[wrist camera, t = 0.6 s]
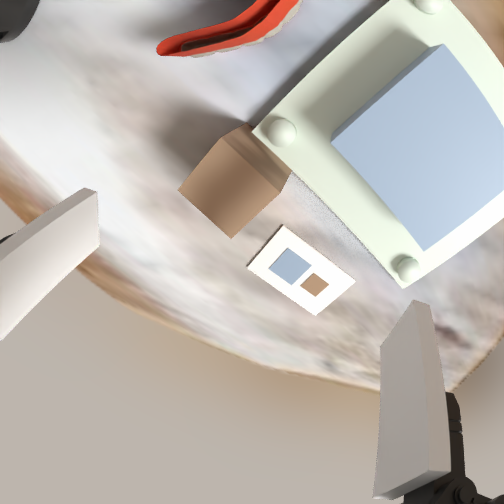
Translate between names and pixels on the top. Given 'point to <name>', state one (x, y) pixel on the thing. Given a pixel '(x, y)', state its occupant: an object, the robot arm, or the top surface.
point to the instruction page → (300, 271)
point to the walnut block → (235, 180)
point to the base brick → (428, 146)
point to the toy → (233, 30)
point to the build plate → (354, 97)
